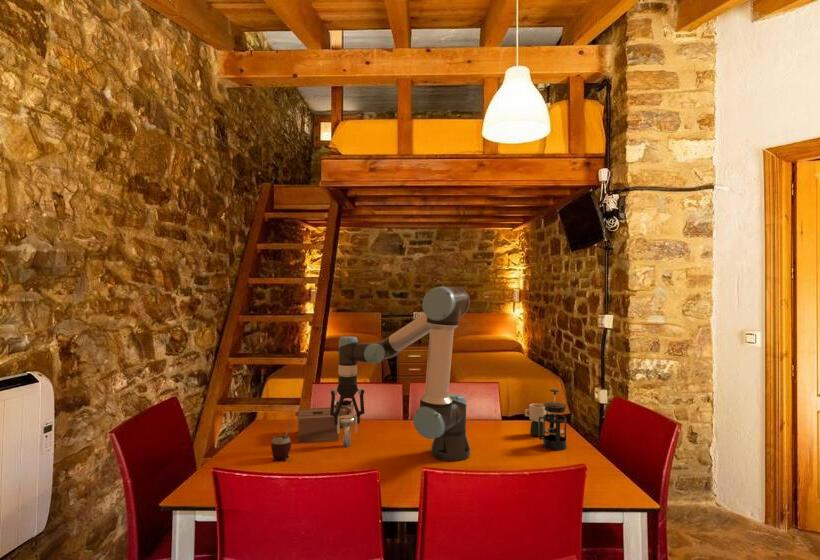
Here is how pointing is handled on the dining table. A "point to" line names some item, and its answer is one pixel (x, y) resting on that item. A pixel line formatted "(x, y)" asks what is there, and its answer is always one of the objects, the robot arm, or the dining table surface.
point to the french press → (554, 438)
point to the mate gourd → (281, 446)
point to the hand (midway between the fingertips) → (347, 432)
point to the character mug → (536, 417)
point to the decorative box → (345, 408)
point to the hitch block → (316, 425)
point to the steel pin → (347, 428)
